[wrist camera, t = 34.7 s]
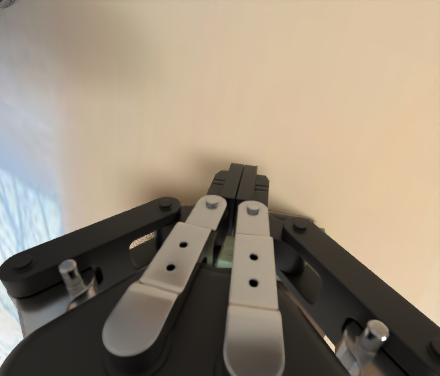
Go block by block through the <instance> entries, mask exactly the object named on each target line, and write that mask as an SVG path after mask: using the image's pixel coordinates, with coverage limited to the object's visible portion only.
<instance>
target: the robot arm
mask: <svg viewBox="0 0 440 376" xmlns="http://www.w3.org/2000/svg"><path fill="white" fill-rule="evenodd" d="M14 1H15V0H0V9H2V8H6V7H8V6H10V5H11V4H12V3H13V2H14ZM257 167H258V166H251V165H245V166H244V165H242V164H234V163H231V165H230V168H229V171H223V170H221V171H219V172H218V173H217V174H216V175H215V177H214V179H213V181H212V184H211V186H210V188H209V190H208V193H207V195H206V196H203V197H201V198H200V199H199V200H198V202H197V203H196V205H193V206H181V204H180V202H179V201H178V200H177V199H175V198H172V197H163V198H159V199H156V200H154V201H151V202H148V203H146V204H143V205H141V206H138V207H136V208H133V209H130V210H128V211H125V212H123V213H120V214H118V215H115V216H112V217H110V218H107V219H105V220H102V221H99V222H97V223H94V224H92V225H89V226H87V227H84V228H81V229H79V230H76V231H74V232H71V233H69V234H66V235H63V236H61V237H58V238H56V239H53V240H51V241H48V242H45V243H43V244H40V245H38V246H35V247H33V248H30V249H27V250H25V251H22V252H20V253H17V254H15V255H13V256H12V257H10V258H9V259H7V260H6V261H5V262H4V263H3V264H2V265H1V266H0V280H1V282H2V283H3V285H4V286H5V288H6V289H7V293H8V295H9V297H10V298H11V300H12V301H13V303H14V304H15V306H16V307H17V309H18V314H19V319H20V324H21V328H22V333H23V338H24V339H23V340H22V341H21V342H20V343H19V344H18V345H17V346H16V347H15V348H14V349H13V350H12V351H11V353H10V354H9V355H8V357H7V358H6V359H5V361H4V362H3V364H2V365H1V367H0V376H440V327H439V326H437V325H436V324H435V323H434V322H433V321H431V320H430V319H429V318H428V317H426V316H425V315H424V314H423V313H422V312H420V311H419V310H418V309H417V308H416V307H414V306H413V305H412V304H411V303H409V302H408V301H407V300H406V299H405V298H403V297H402V296H401V295H400V294H399V293H397V292H396V291H395V290H394V289H392V288H391V287H390V286H389V285H388V284H386V283H385V282H384V281H383V280H381V279H380V278H379V277H378V276H377V275H375V274H374V273H373V272H372V271H371V270H369V269H368V268H367V267H366V266H364V265H363V264H362V263H361V262H360V261H358V260H357V259H356V258H355V257H354V256H352V255H351V254H350V253H349V252H347V251H346V250H345V249H344V248H343V247H341V246H340V245H339V244H338V243H337V242H335V241H334V240H333V239H332V238H330V237H329V236H328V235H327V234H326V233H324V232H323V231H322V230H321V229H320V228H318V227H317V226H316V225H315V224H313V223H312V222H311V221H309V220H308V219H305V218H302V217H289V218H287V219H286V220H285V221H282V220H279V219H277V218H275V217H273V216H272V215H271V214H270V213H269V211H268V208H267V206H268V191H269V180H268V179H267V177H266V176H262V175H257ZM233 228H234V229H233ZM151 232H154V237H155V238H152V239H150V240H148V241H146V242H144V243H142V244H140V245H138V246H136V247H134V248H132V249H130V250H129V247H130V245H131V243H132V242H133V241H135V240H136V239H139V238H141V237H143V236H145V235H147V234H149V233H151ZM232 232H233V237H235V242H234V252H233V261H232V268H217V265H218V262H219V259H220V257H221V254H222V251H223V248H224V242H225V240H226V236H232ZM307 263H308V264H309V265H310V266H311V267H312V268H313V269H314V270H315V271H316V272H317V273H318V275H319V276H320V277H319V276H318V275H317V274H316V273H315V272H314V271H313V270H312V269H311V268H310V267H309V266H308V265H307ZM276 275H277V276H278V278H279V279H280V280H281V281H282V282H283V284H284V285H285V286H286V287H287V288H288V290H289V291H290V292H291V293H292V295H293V296H294V297H295V298H296V299H297V301H298V302H299V303H300V304H301V305H302V307H303V308H304V309H305V310H306V312H307V313H308V314H309V315H310V316H311V318H312V319H313V320H314V321H315V322H316V324H317V325H318V326H319V327H320V329H321V330H322V331H323V332H324V333H325V335H326V336H327V337H328V338H329V339H330V341H331V342H332V343H333V344H334V346H335V353H334V352H333V351H332V349H331V348H330V347H329V345H328V344H327V343H326V342H325V340H324V339H323V338H322V336H321V335H320V334H319V332H318V331H317V330H316V328H315V327H314V326H313V325H312V323H311V322H310V321H309V319H308V318H307V317H306V315H305V314H304V313H303V311H302V310H301V309H300V307H299V306H298V305H297V304H296V302H295V301H294V300H293V298H292V297H291V296H290V295H289V294H288V293H287V292H286V291H285V290H283V289H282V288H281V287H279V286H278V285H277V284H276Z"/></svg>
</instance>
